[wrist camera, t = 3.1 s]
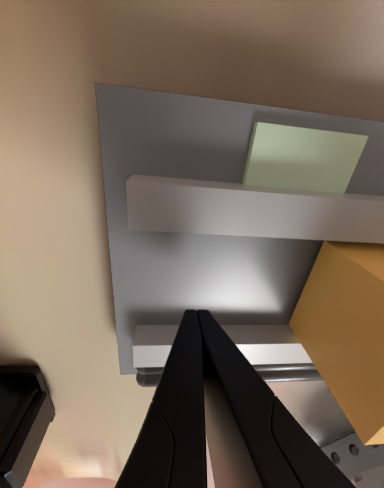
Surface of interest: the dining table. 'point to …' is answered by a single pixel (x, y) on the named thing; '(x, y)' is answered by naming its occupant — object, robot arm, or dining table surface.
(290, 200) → the panel
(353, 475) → the circuit breaker
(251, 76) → the dining table surface
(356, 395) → the toggle
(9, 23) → the dining table surface
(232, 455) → the robot arm
